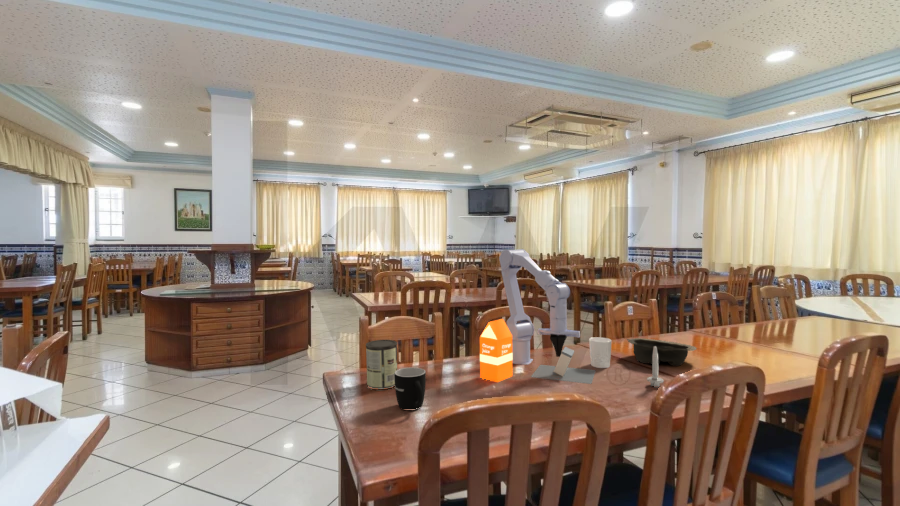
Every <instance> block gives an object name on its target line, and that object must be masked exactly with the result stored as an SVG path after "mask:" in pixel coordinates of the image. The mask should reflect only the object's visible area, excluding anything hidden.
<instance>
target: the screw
mask: <svg viewBox="0 0 900 506" xmlns="http://www.w3.org/2000/svg"><path fill="white" fill-rule="evenodd" d="M652 355H653V356H652V357H653V361H652V362H653V363H652V365H651V369H652V371H651V373H652V376H648V377H647V378H646V380H647V382H649V383H650V387H652V386H654V387H653V388H659V387H660V385H661V384H663V383H665V381H664V379H663V378H662V377H659V364H658V353H657V347H656V346H654V349H653V354H652ZM655 386H656V387H655ZM657 386H658V387H657Z"/></svg>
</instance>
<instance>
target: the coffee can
mask: <svg viewBox="0 0 900 506" xmlns="http://www.w3.org/2000/svg"><path fill="white" fill-rule="evenodd" d="M365 348H366V349H365V352H366V354H365V355H366V356H365V357H366V386H367V385H368V386H369V387H372V388H378V389H384V388H390V387H393V386H395V378H394V373H395V371H397V370H398V342H397V341H396V340H393V339H377V340H371V341H368V342H366V343H365Z"/></svg>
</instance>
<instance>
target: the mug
mask: <svg viewBox="0 0 900 506" xmlns="http://www.w3.org/2000/svg"><path fill="white" fill-rule="evenodd" d="M426 376H427V374H426V370H425V369H424V368H420V367H415V366H414V367H412V366H411V367H402V368H399V369H397V371H395V373H394V378H395V387H394V390H395V397H396V402H397V405H398V408H400V409H401V408H402V409H416V408H419V407H421V408H422V407H423V404H424V401H425V393H426V384H427V383H426V382H427V379H426V378H427V377H426ZM402 409H401V410H402ZM419 409H420V408H419Z"/></svg>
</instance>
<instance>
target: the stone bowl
mask: <svg viewBox="0 0 900 506" xmlns="http://www.w3.org/2000/svg"><path fill="white" fill-rule="evenodd" d="M626 340H627V342H628V343H630V344H631V345H633V351H632V352H633V355H634V356H635V360H636V361H637V362H639V361H640V362H639V363H642V364H652V363H653V362H652V361H653V357H652V356H653V355H652V354H653V349H654V346H656V347H657V353H658V365H659V364H660V363H661V362H664V363H666V362H667V363H668V364H669V365H670V366H672V365H673V367H675V366H676V367H677V366H678V367H679V366H681V365H683V364H684V363H685V361H686V359H687V356H688V354H689V352H690V351H691V352H692V351H693V352H694V351H696V350H697V349H698V348H697V347H696V346H695V345H690V344H686V343H680V342H675V341H666V340H661V339H654V338H653V339H651V338H642V337H641V338H640V337H636V338H628V337H627V336H626ZM652 365H653V364H652Z"/></svg>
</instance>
